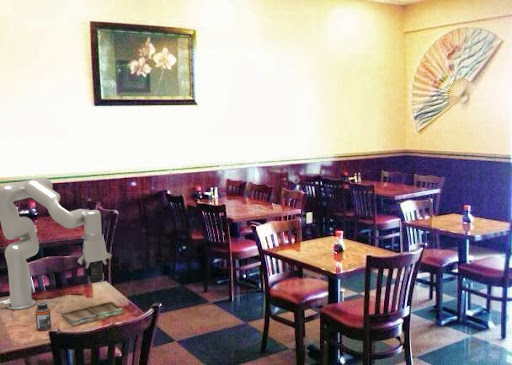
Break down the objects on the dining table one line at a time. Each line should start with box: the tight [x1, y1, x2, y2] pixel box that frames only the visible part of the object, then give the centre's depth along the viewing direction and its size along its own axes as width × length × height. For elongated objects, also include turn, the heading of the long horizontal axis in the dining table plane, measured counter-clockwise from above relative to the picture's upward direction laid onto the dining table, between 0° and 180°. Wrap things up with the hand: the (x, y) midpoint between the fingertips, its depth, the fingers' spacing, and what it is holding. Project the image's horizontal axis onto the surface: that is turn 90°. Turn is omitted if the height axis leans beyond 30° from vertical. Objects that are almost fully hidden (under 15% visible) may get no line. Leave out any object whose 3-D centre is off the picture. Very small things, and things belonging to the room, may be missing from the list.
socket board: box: [60, 301, 126, 328], centre depth 249 cm, size 24×15×2 cm, turn 128°
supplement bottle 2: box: [87, 261, 104, 284], centre depth 251 cm, size 7×7×12 cm
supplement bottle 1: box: [35, 301, 52, 331], centre depth 234 cm, size 6×6×11 cm
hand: (95, 274), depth 251 cm, fingers closed on supplement bottle 2, 6 cm apart
